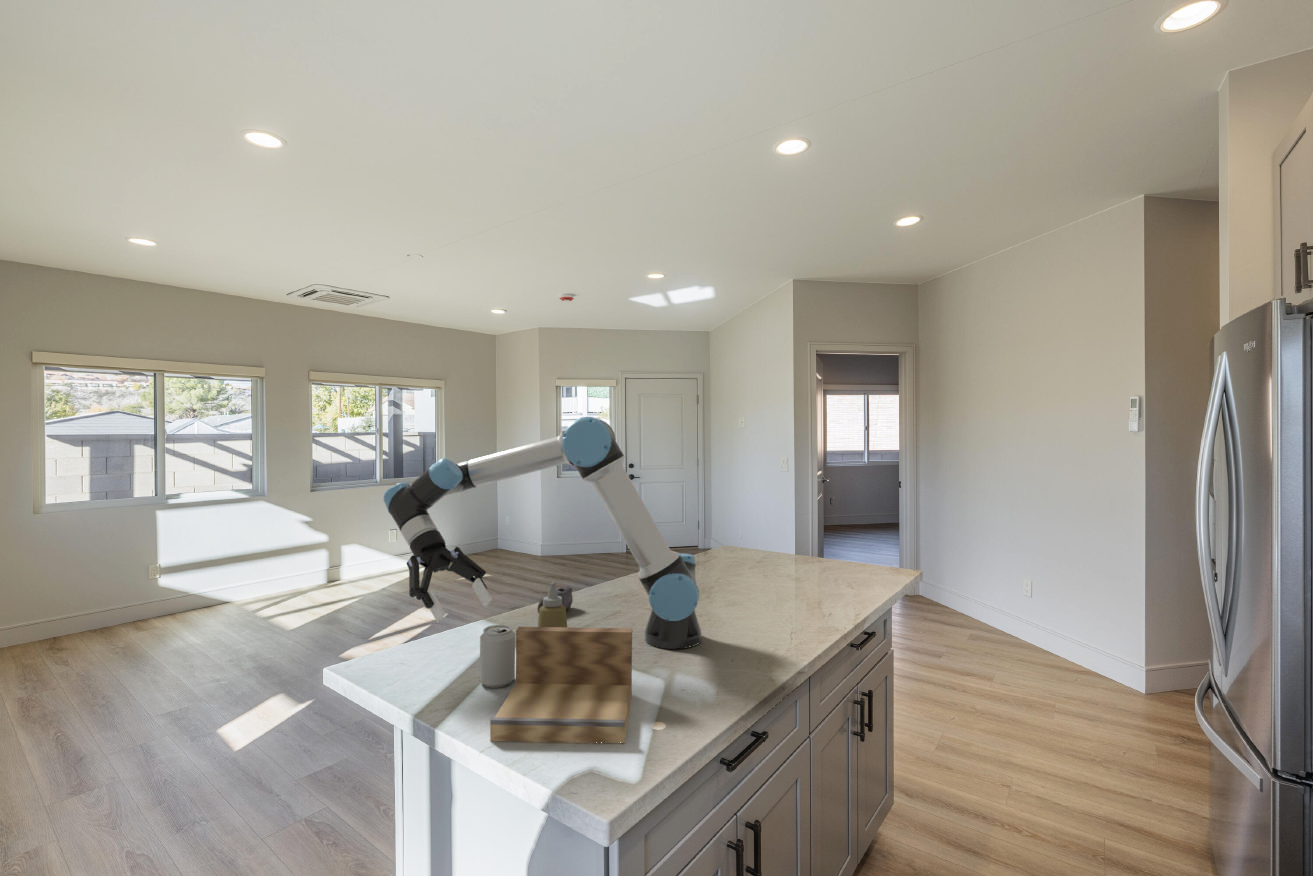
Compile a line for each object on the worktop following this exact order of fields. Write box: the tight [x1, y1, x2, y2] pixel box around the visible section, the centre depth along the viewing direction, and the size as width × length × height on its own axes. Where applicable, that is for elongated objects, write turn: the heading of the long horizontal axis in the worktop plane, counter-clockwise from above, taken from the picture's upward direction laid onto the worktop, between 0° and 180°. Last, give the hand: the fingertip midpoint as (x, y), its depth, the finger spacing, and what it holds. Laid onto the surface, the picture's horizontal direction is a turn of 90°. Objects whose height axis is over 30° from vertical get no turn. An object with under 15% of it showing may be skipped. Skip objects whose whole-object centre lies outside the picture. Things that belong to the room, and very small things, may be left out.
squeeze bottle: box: [537, 582, 568, 627], centre depth 146 cm, size 8×8×18 cm
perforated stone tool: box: [537, 585, 574, 614], centre depth 181 cm, size 15×5×7 cm, turn 147°
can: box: [479, 624, 516, 689], centre depth 130 cm, size 8×8×12 cm
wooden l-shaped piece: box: [489, 626, 633, 744], centre depth 115 cm, size 24×20×14 cm
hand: (466, 610), depth 135 cm, fingers open, 13 cm apart
